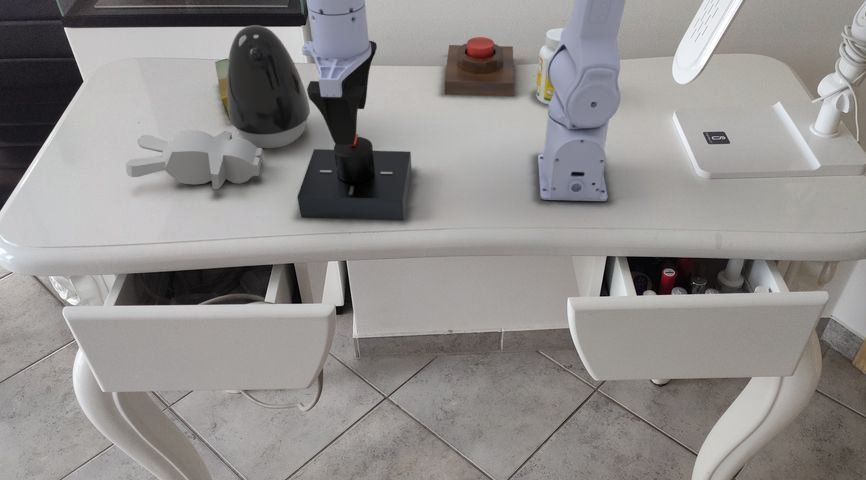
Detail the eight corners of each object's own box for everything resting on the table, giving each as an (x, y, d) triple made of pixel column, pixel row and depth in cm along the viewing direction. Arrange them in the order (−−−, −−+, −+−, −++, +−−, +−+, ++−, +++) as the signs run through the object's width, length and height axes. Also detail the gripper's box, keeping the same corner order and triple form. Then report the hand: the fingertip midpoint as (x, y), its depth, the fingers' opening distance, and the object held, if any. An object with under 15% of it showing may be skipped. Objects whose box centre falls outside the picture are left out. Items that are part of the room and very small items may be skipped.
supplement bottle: (528, 96, 105) (532, 32, 98) (554, 85, 107) (560, 22, 101) (553, 110, 102) (560, 45, 95) (580, 99, 104) (588, 35, 98)
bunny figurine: (253, 167, 83) (117, 158, 81) (256, 202, 87) (126, 195, 85) (264, 125, 90) (139, 116, 88) (266, 159, 94) (146, 151, 92)
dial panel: (403, 220, 83) (402, 198, 81) (300, 217, 83) (296, 195, 81) (411, 171, 90) (410, 150, 88) (317, 169, 90) (313, 147, 88)
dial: (372, 183, 83) (369, 155, 80) (334, 182, 83) (330, 154, 80) (377, 162, 86) (374, 134, 83) (340, 161, 86) (337, 133, 83)
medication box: (222, 85, 106) (213, 60, 104) (241, 81, 107) (232, 56, 104) (230, 124, 98) (220, 97, 95) (249, 119, 98) (240, 92, 95)
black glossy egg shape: (234, 163, 91) (206, 49, 81) (236, 122, 98) (210, 13, 88) (315, 155, 93) (297, 42, 82) (311, 115, 100) (294, 7, 90)
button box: (513, 96, 104) (514, 71, 102) (444, 94, 105) (444, 69, 102) (512, 59, 113) (513, 35, 111) (449, 58, 113) (448, 33, 111)
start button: (493, 60, 105) (493, 49, 104) (466, 59, 105) (466, 48, 104) (493, 48, 108) (494, 37, 107) (467, 47, 108) (467, 36, 107)
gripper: (310, -24, 76) (326, 92, 86) (279, 33, 66) (301, 159, 75) (376, -23, 76) (385, 93, 85) (355, 35, 66) (368, 161, 75)
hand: (350, 124), depth 80 cm, fingers open, 7 cm apart
